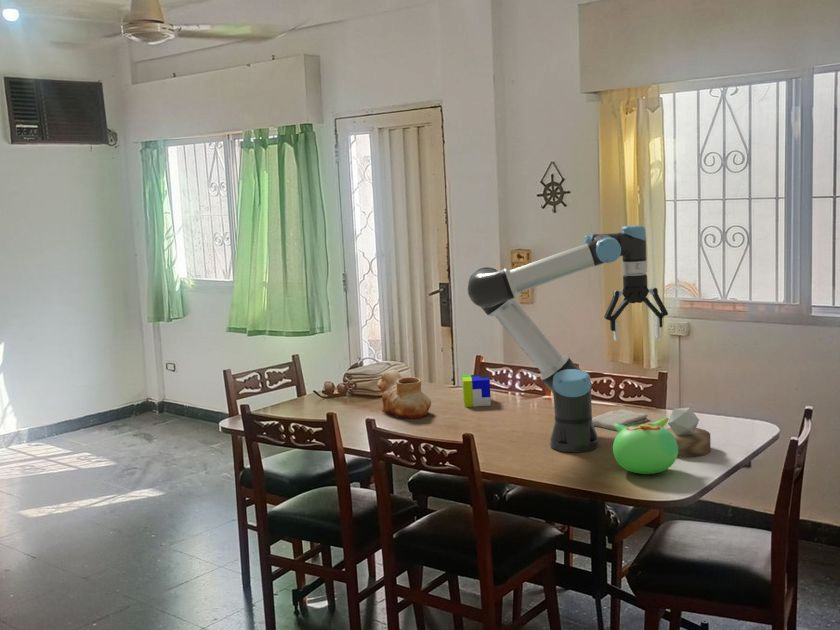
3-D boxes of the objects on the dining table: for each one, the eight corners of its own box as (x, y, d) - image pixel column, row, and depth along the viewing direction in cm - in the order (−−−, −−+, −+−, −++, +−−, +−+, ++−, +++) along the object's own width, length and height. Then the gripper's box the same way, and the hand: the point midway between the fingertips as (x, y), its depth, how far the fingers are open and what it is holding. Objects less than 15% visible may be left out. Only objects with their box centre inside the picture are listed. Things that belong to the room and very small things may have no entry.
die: (694, 441, 271) (707, 412, 273) (667, 428, 271) (680, 399, 273) (685, 443, 279) (698, 415, 281) (660, 430, 279) (672, 402, 281)
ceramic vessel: (400, 402, 358) (398, 365, 355) (439, 414, 336) (436, 375, 334) (370, 409, 350) (367, 371, 348) (408, 422, 329) (405, 381, 326)
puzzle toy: (491, 405, 344) (489, 379, 343) (464, 407, 345) (463, 381, 343) (489, 399, 354) (488, 373, 353) (463, 400, 354) (462, 375, 353)
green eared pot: (615, 481, 253) (613, 430, 251) (612, 462, 270) (610, 414, 268) (681, 481, 251) (680, 429, 248) (674, 461, 267) (673, 413, 265)
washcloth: (649, 420, 312) (649, 412, 312) (616, 432, 301) (616, 423, 300) (621, 415, 321) (621, 406, 321) (588, 426, 310) (588, 417, 309)
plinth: (668, 459, 270) (668, 443, 269) (652, 444, 284) (652, 429, 284) (718, 455, 270) (718, 438, 270) (699, 440, 285) (699, 425, 284)
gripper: (599, 278, 287) (601, 344, 291) (677, 272, 289) (678, 338, 292) (593, 275, 295) (595, 339, 298) (669, 270, 296) (670, 334, 299)
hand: (636, 339), depth 295 cm, fingers open, 13 cm apart
